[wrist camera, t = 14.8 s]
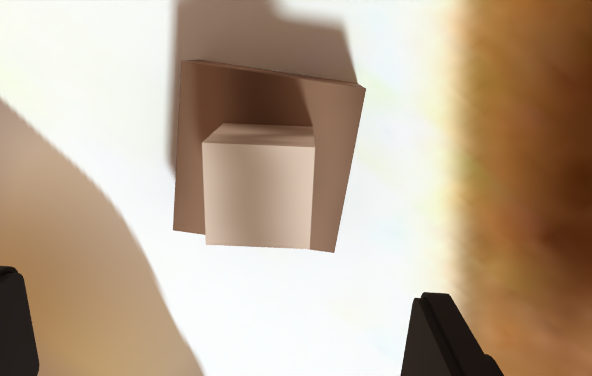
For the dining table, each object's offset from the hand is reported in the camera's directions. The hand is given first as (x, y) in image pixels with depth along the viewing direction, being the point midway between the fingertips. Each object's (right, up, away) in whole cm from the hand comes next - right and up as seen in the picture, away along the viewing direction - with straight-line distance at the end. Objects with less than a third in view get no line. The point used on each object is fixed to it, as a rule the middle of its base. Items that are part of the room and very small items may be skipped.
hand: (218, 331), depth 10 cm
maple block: (0, +5, +14) cm, 14 cm away
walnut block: (0, +6, +17) cm, 19 cm away
